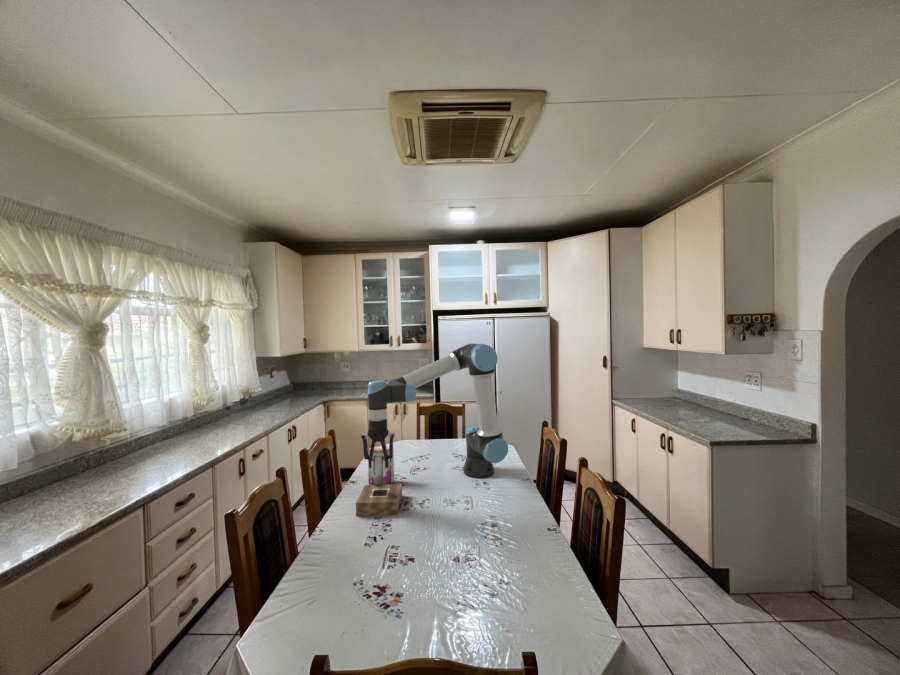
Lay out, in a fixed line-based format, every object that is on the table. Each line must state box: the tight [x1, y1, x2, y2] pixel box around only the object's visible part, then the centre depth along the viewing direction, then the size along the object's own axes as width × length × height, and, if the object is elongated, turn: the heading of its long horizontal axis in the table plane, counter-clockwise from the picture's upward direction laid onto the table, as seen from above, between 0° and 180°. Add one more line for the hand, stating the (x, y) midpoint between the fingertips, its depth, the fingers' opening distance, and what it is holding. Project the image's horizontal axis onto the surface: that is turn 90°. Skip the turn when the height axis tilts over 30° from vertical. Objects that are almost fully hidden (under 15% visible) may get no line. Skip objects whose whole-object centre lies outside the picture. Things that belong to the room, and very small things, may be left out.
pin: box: [373, 454, 385, 487], centre depth 145 cm, size 4×4×12 cm
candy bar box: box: [367, 446, 395, 485], centre depth 167 cm, size 11×5×16 cm, turn 84°
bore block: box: [355, 483, 403, 517], centre depth 145 cm, size 16×16×5 cm
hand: (378, 475), depth 145 cm, fingers closed on pin, 4 cm apart
